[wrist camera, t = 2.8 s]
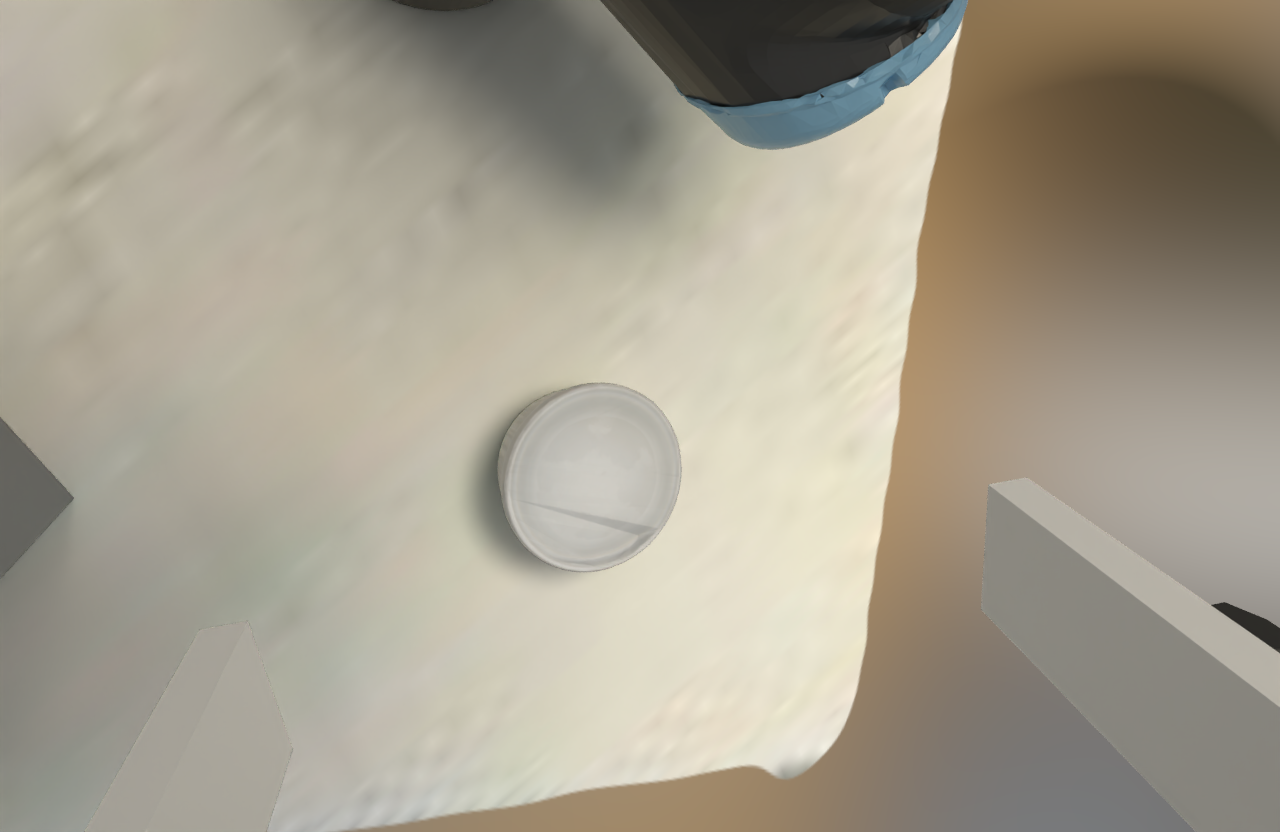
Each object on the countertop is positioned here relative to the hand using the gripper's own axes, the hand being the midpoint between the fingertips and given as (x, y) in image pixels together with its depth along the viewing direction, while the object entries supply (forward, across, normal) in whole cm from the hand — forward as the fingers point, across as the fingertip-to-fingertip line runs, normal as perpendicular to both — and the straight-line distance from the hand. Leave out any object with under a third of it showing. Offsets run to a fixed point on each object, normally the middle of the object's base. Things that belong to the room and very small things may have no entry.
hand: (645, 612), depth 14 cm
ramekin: (+35, 0, +13) cm, 38 cm away
